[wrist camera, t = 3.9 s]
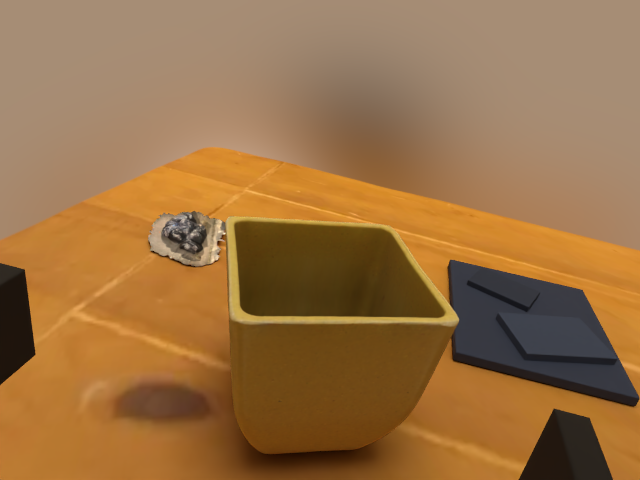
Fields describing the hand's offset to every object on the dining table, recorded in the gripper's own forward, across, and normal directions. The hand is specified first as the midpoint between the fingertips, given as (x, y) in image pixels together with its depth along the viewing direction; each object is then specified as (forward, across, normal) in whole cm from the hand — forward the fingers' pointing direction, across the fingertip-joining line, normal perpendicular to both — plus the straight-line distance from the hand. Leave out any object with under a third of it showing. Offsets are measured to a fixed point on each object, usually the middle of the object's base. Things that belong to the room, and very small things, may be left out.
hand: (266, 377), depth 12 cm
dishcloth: (+24, +14, -11) cm, 29 cm away
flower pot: (+10, 0, -11) cm, 14 cm away
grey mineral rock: (+24, -13, -11) cm, 29 cm away
